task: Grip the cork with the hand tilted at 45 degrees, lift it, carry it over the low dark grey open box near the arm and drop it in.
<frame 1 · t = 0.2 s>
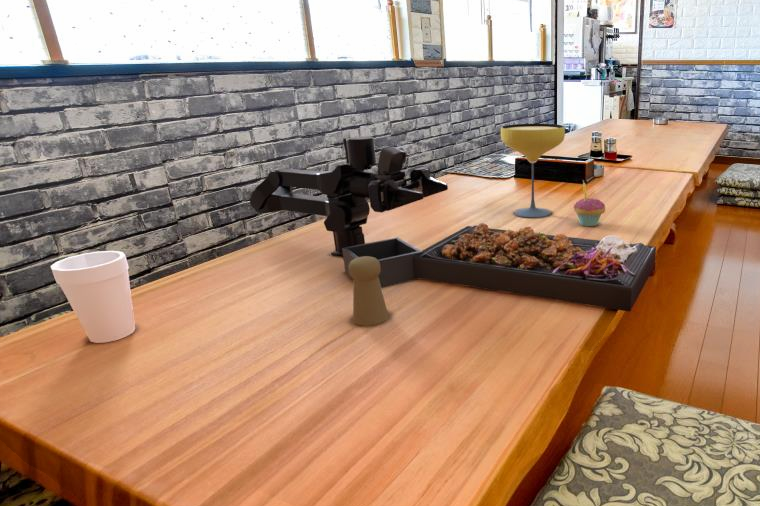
hand: (435, 191, 110), 17 cm above the table, tool horizontal, fingers open, 9 cm apart
dark grey open box: (384, 274, 112), on the table
cupcake: (589, 224, 146), on the table
food platter: (535, 272, 111), on the table, touching dark grey open box
foam cup: (113, 334, 88), on the table
cork: (371, 319, 92), on the table
cocktail glass: (532, 213, 158), on the table
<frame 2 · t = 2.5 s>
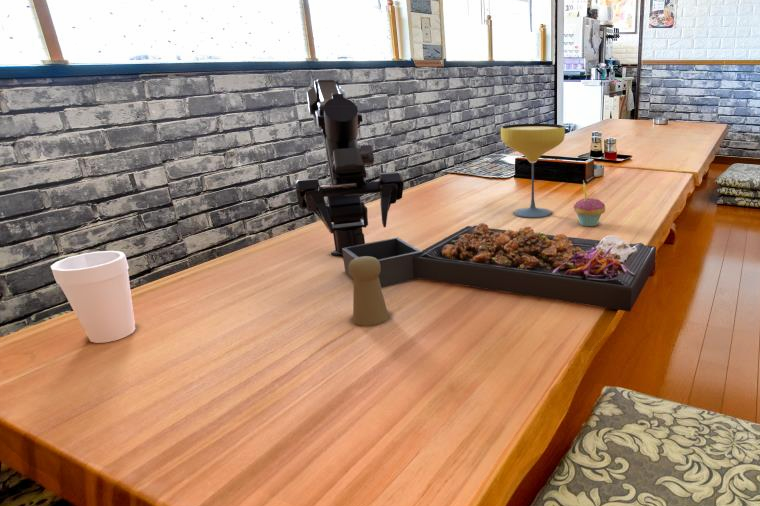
hand: (358, 229, 94), 14 cm above the table, tool tilted 45°, fingers open, 9 cm apart
nothing on the table moved.
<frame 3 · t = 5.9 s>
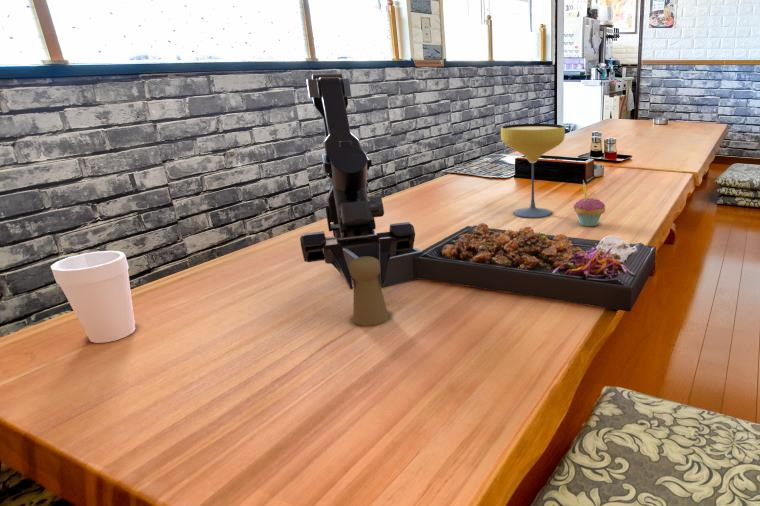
hand: (367, 285, 89), 7 cm above the table, tool tilted 45°, fingers closed on cork, 5 cm apart
cork: (371, 319, 92), on the table, touching gripper
everything else where it was.
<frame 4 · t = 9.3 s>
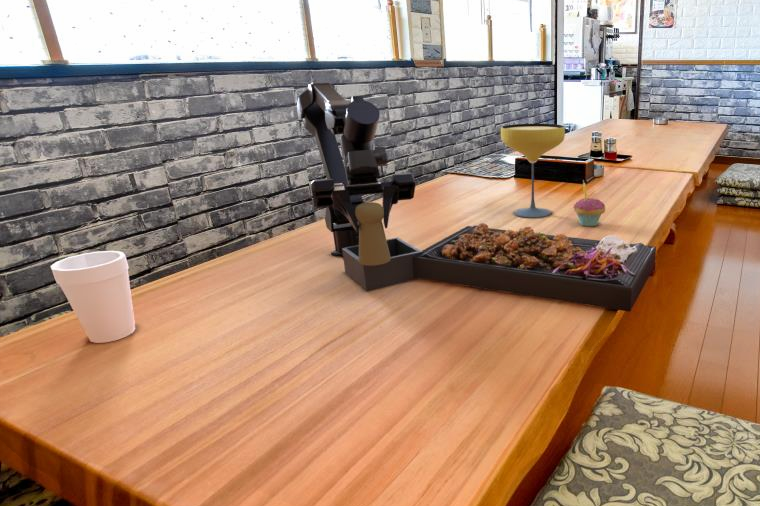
hand: (371, 228, 97), 13 cm above the table, tool tilted 45°, fingers closed on cork, 5 cm apart
cork: (374, 260, 101), point 6 cm above the table, touching gripper
everything else where it was.
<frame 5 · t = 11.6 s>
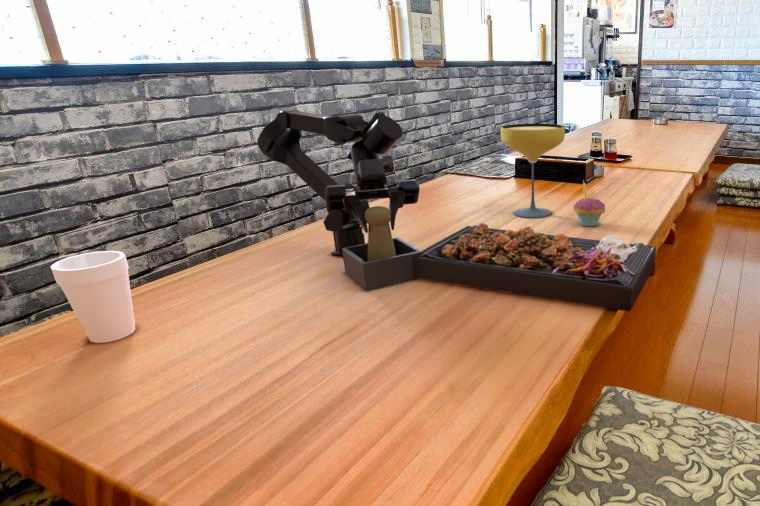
hand: (379, 230, 107), 10 cm above the table, tool tilted 45°, fingers closed on cork, 5 cm apart
cork: (382, 259, 111), point 3 cm above the table, touching gripper
everything else where it was.
when the fingers open (7 cm above the table, at t = 13.0 s): cork stays where it is, resting on dark grey open box.
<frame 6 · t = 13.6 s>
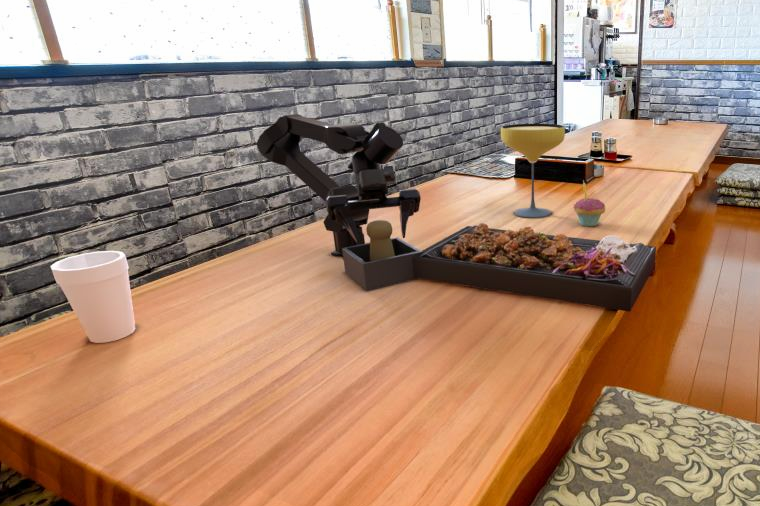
hand: (381, 239, 108), 8 cm above the table, tool tilted 45°, fingers open, 9 cm apart
cork: (384, 272, 112), resting on dark grey open box
everything else where it was.
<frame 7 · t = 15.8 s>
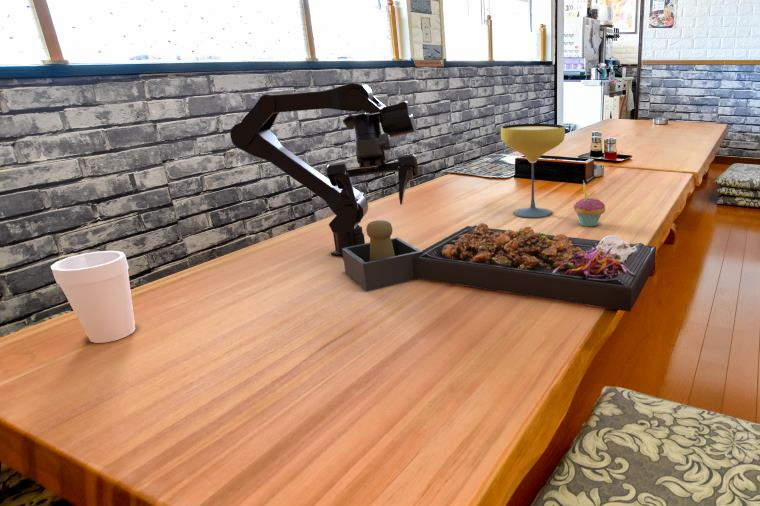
hand: (379, 206, 112), 13 cm above the table, tool tilted 35°, fingers open, 9 cm apart
nothing on the table moved.
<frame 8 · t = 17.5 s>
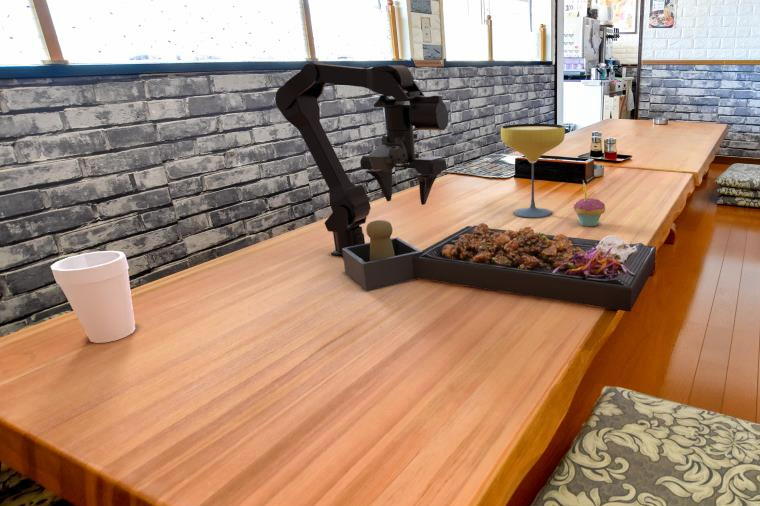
hand: (406, 202, 117), 13 cm above the table, tool pointing down, fingers open, 9 cm apart
nothing on the table moved.
at the end: cork inside the target area in the dark grey open box (0.1 cm from its centre), point 0.4 cm above the dark grey open box's base; the gripper is holding nothing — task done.
